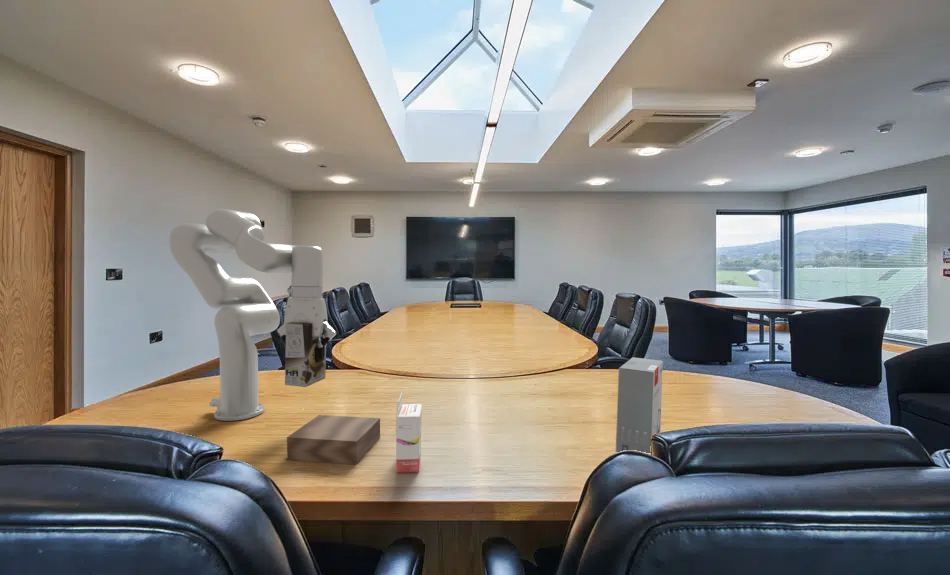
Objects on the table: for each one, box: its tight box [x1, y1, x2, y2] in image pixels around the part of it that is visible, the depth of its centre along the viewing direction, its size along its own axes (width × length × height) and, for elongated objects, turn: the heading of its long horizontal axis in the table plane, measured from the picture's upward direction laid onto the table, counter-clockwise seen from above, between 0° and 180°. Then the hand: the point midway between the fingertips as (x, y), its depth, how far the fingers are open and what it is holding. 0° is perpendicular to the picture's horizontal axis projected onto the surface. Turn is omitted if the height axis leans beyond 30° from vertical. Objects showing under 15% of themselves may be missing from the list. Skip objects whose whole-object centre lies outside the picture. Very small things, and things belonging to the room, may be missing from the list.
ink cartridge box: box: [395, 391, 423, 474], centre depth 88 cm, size 9×5×15 cm, turn 5°
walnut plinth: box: [286, 414, 381, 465], centre depth 95 cm, size 16×14×5 cm
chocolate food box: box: [284, 323, 327, 388], centre depth 107 cm, size 9×6×16 cm
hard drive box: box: [615, 356, 664, 453], centre depth 97 cm, size 16×8×20 cm, turn 148°
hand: (306, 360), depth 107 cm, fingers closed on chocolate food box, 6 cm apart
